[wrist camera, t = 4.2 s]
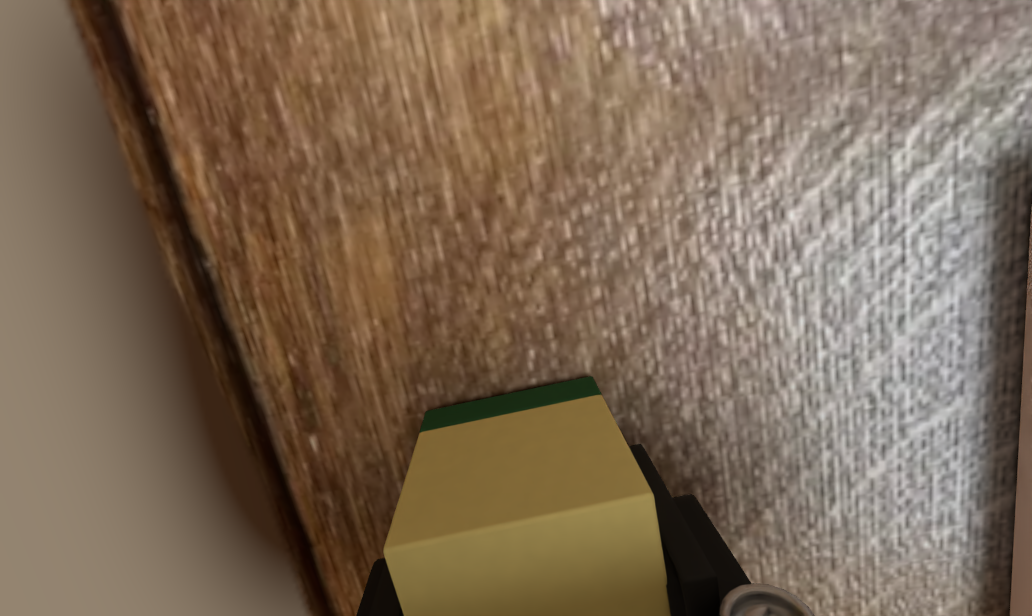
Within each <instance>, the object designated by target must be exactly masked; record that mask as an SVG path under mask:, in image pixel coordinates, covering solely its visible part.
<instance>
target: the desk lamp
mask: <svg viewBox="0 0 1032 616" xmlns="http://www.w3.org/2000/svg"><path fill="white" fill-rule="evenodd" d="M1010 616H1032V206H1031V225H1030V244H1029V263H1028V282H1027V300H1026V319H1025V338H1024V357H1023V376H1022V395H1021V414H1020V433H1019V451H1018V470H1017V489H1016V508H1015V527H1014V546H1013V565H1012V584H1011V602H1010Z"/></svg>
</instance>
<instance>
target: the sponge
mask: <svg viewBox="0 0 1032 616" xmlns="http://www.w3.org/2000/svg"><path fill="white" fill-rule="evenodd" d="M383 553H384V557H385V560H386V563H387V566H388V569H389V572H390V575H391V578H392V581H393V584H394V587H395V590H396V593H397V596H398V599H399V602H400V605H401V608H402V611H403V614H404V616H671V613H670V607H669V601H668V594H667V588H666V584H667V576H666V569H665V563H664V557H663V550H662V544H661V537H660V531H659V525H658V518H657V512H656V506H655V499H654V495H653V493H652V491H651V489H650V487H649V485H648V483H647V481H646V479H645V477H644V475H643V473H642V471H641V469H640V468H639V466H638V464H637V462H636V460H635V458H634V456H633V454H632V452H631V450H630V448H629V446H628V444H627V443H626V441H625V439H624V437H623V435H622V433H621V431H620V429H619V427H618V425H617V423H616V421H615V419H614V417H613V416H612V414H611V412H610V410H609V408H608V406H607V404H606V402H605V400H604V398H603V397H602V394H601V392H600V390H599V388H598V386H597V384H596V382H595V380H594V379H593V377H591V376H590V377H585V378H580V379H576V380H571V381H566V382H562V383H557V384H552V385H547V386H543V387H538V388H533V389H528V390H524V391H519V392H514V393H510V394H505V395H500V396H495V397H491V398H486V399H481V400H476V401H472V402H467V403H462V404H458V405H453V406H448V407H443V408H439V409H434V410H429V411H426V413H425V416H424V419H423V422H422V425H421V429H420V434H419V436H418V439H417V443H416V446H415V449H414V452H413V455H412V459H411V462H410V465H409V468H408V472H407V475H406V478H405V481H404V484H403V488H402V491H401V494H400V497H399V500H398V504H397V507H396V510H395V513H394V516H393V520H392V523H391V526H390V529H389V533H388V536H387V539H386V542H385V545H384V549H383Z"/></svg>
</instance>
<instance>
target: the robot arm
mask: <svg viewBox="0 0 1032 616" xmlns="http://www.w3.org/2000/svg"><path fill="white" fill-rule="evenodd" d="M629 448H630V450H631V452H632V454H633V456H634V458H635V460H636V462H637V464H638V466H639V468H640V469H641V471H642V473H643V475H644V477H645V479H646V481H647V483H648V485H649V487H650V489H651V491H652V493H653V495H654V499H655V506H656V512H657V518H658V525H659V531H660V537H661V544H662V550H663V557H664V563H665V569H666V576H667V584H666V588H667V594H668V601H669V607H670V613H671V616H815V615H814V614H813V613H812V611H811V610H810V608H809V607H808V606H807V605H806V604H805V603H803V602H802V601H801V600H800V599H799V598H798V597H796V596H795V595H793V594H791V593H789V592H787V591H785V590H784V589H781V588H778V587H774V586H771V585H768V584H754V583H753V584H751V582H750V581H749V579H748V577H747V576H746V574H745V573H744V571H743V570H742V568H741V567H740V565H739V564H738V562H737V560H736V559H735V557H734V556H733V554H732V553H731V551H730V550H729V548H728V547H727V545H726V544H725V542H724V540H723V539H722V537H721V536H720V534H719V533H718V531H717V530H716V528H715V527H714V525H713V524H712V522H711V520H710V519H709V517H708V516H707V514H706V513H705V511H704V510H703V508H702V507H701V505H700V503H699V502H698V500H697V499H696V498H695V497H694V495H692V494H689V495H684V496H679V497H674V498H672V497H671V495H670V493H669V491H668V490H667V488H666V486H665V484H664V483H663V481H662V479H661V477H660V476H659V474H658V472H657V470H656V469H655V467H654V465H653V463H652V462H651V460H650V458H649V456H648V455H647V453H646V451H645V449H644V448H643V446H642V445H641V444H637V445H633V446H629ZM356 616H404V614H403V611H402V608H401V605H400V602H399V599H398V596H397V593H396V590H395V587H394V584H393V581H392V578H391V575H390V572H389V569H388V566H387V563H386V560H385V558H382V559H377V560H376V561H375V562H374V564H373V566H372V569H371V572H370V575H369V578H368V581H367V584H366V587H365V590H364V593H363V597H362V600H361V603H360V606H359V609H358V612H357V615H356Z"/></svg>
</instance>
